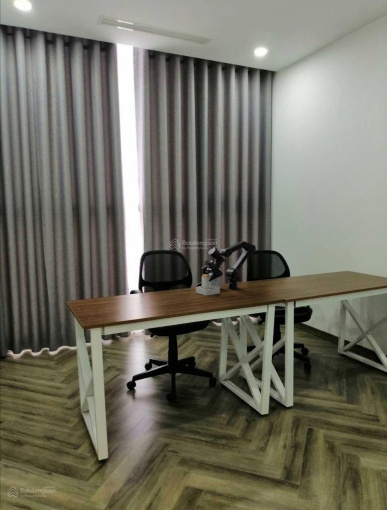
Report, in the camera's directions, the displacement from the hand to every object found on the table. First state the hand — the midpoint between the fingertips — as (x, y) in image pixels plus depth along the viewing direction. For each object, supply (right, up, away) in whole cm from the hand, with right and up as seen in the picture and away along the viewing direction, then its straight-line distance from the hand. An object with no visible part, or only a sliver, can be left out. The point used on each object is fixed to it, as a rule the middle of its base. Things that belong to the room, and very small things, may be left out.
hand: (205, 280), depth 256 cm
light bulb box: (+7, -7, +17) cm, 20 cm away
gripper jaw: (+1, -8, +2) cm, 8 cm away
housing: (+2, -9, +2) cm, 10 cm away
